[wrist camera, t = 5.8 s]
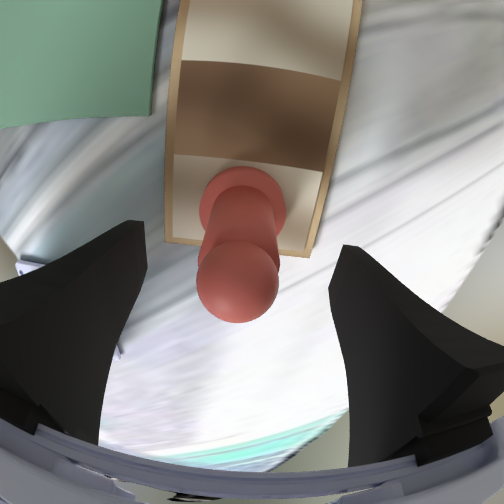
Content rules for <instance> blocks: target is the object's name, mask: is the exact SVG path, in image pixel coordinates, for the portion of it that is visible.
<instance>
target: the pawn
mask: <svg viewBox="0 0 504 504" xmlns="http://www.w3.org/2000/svg"><path fill="white" fill-rule="evenodd" d="M199 216H200V221H201V224H202V226H203V229H204V230H205V235H204V238H203V242H202V245H201V249H200V252H199V256H198V267H199V268H198V272H197V278H196V285H197V291H198V295H199V298H200V300H201V302H202V303H203V305H204V306H205V308H206V309H207V310H208V311H209V312H210V313H211V314H213V315H214V316H215V317H217V318H219V319H221V320H223V321H226V322H231V323H244V322H249V321H252V320H254V319H256V318H258V317H260V316H261V315H263V314H264V313H265V312H266V311H267V310H268V309H269V308H270V307H271V305H272V304H273V302H274V300H275V298H276V295H277V292H278V287H279V277H278V272H279V268H280V259H279V251H278V244H277V236H278V234H279V233H280V231H281V230H282V228H283V226H284V223H285V219H286V205H285V201H284V197H283V193H282V190H281V188H280V186H279V185H278V183H277V182H276V181H275V180H274V178H272V177H271V176H270V175H269V174H267V173H266V172H264V171H262V170H260V169H257V168H254V167H249V166H236V167H231V168H228V169H226V170H224V171H222V172H220V173H218V174H217V175H216V176H215V177H213V178H212V180H211V181H210V182H209V183H208V185H207V187H206V189H205V191H204V193H203V196H202V198H201V201H200V206H199Z"/></svg>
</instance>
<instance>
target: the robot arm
mask: <svg viewBox="0 0 504 504" xmlns="http://www.w3.org/2000/svg"><path fill="white" fill-rule="evenodd" d="M16 269H17V272H18V274H19V276H18V277H15V278H13V279H10V280H7V281H4V282H0V504H149V503H145V502H140V501H136V500H135V495H134V494H133V493H131V492H129V491H127V490H124V489H122V488H121V487H119V486H117V485H115V484H114V482H113V481H112V480H110V479H107V478H104V477H102V476H99V475H96V474H94V473H92V472H90V471H87V470H85V469H83V468H86V469H89V470H92V471H95V472H98V473H101V474H104V475H107V476H110V477H114V478H117V479H121V480H124V481H128V482H132V483H136V484H140V485H144V486H148V487H153V488H158V489H163V490H168V491H174V492H180V493H186V494H193V495H201V496H211V497H222V498H237V499H289V498H306V497H317V496H325V495H333V494H341V493H347V492H354V491H359V490H364V489H368V490H365V491H361V492H357V493H353V494H348V495H344V496H342V497H341V498H339V499H338V500H336V501H333V502H330V503H327V504H483V503H484V502H485V501H487V500H488V499H490V498H491V497H492V496H493V495H495V494H496V493H497V492H498V491H500V490H501V489H502V488H504V416H502V417H500V418H498V419H496V420H494V421H493V422H491V423H489V420H488V418H487V417H488V416H490V415H491V414H492V410H491V407H490V404H491V403H492V402H493V401H494V400H495V399H496V398H497V397H498V396H499V395H501V394H502V393H503V392H504V346H502V345H500V344H497V343H495V342H493V341H490V340H487V339H486V338H483V337H481V336H480V335H478V334H475V333H474V332H472V331H470V330H468V329H466V328H464V327H462V326H461V325H459V324H457V323H456V322H454V321H453V320H451V319H449V318H448V317H446V316H444V315H443V314H442V313H440V312H439V311H437V310H436V309H434V308H433V307H432V306H430V305H429V304H427V303H426V302H425V301H423V300H422V299H421V298H419V297H418V296H417V295H416V294H414V293H413V292H412V291H411V290H410V289H408V288H407V287H406V286H405V285H404V284H402V283H401V282H400V281H399V280H398V279H397V278H395V277H394V276H393V275H392V274H391V273H390V272H389V271H387V270H386V269H385V268H384V267H383V266H382V265H381V264H380V263H378V262H377V261H376V260H375V259H374V258H373V257H371V256H370V255H369V254H368V253H367V252H365V251H364V250H363V249H361V248H360V247H358V246H351V245H343V247H342V250H341V253H340V256H339V259H338V262H337V264H336V267H335V270H334V273H333V276H332V279H331V282H330V284H329V287H328V290H329V299H330V307H331V312H332V316H333V320H334V324H335V328H336V332H337V335H338V339H339V343H340V347H341V351H342V355H343V359H344V364H345V369H346V376H347V386H348V397H349V413H350V443H349V460H348V468H340V469H331V470H320V471H308V472H282V473H281V472H279V473H265V472H237V471H223V470H212V469H203V468H195V467H188V466H181V465H175V464H169V463H164V462H159V461H154V460H149V459H145V458H140V457H136V456H132V455H128V454H124V453H120V452H117V451H113V450H110V449H106V448H103V447H100V446H98V438H99V428H100V418H101V411H102V405H103V399H104V393H105V388H106V383H107V379H108V374H109V370H110V366H111V362H112V360H114V361H119V360H120V357H121V355H120V352H119V349H118V346H117V342H118V340H119V337H120V335H121V332H122V330H123V328H124V326H125V323H126V321H127V319H128V317H129V314H130V312H131V310H132V308H133V306H134V303H135V301H136V299H137V297H138V295H139V292H140V290H141V287H142V284H143V281H144V278H145V274H146V271H147V257H146V246H145V232H144V221H134V220H127V221H125V222H123V223H121V224H119V225H117V226H115V227H114V228H112V229H110V230H108V231H107V232H105V233H103V234H102V235H100V236H98V237H97V238H95V239H93V240H92V241H90V242H88V243H86V244H85V245H83V246H81V247H79V248H77V249H76V250H74V251H72V252H70V253H69V254H67V255H65V256H63V257H61V258H59V259H57V260H55V261H53V262H51V263H49V264H47V265H44V264H39V263H33V262H28V261H23V260H18V261H17V262H16ZM369 488H372V489H369Z"/></svg>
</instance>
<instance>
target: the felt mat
mask: <svg viewBox="0 0 504 504" xmlns="http://www.w3.org/2000/svg"><path fill="white" fill-rule="evenodd" d="M163 1H164V0H0V129H3V128H8V127H14V126H20V125H26V124H33V123H40V122H48V121H57V120H67V119H78V118H92V117H113V116H150V115H151V101H152V87H153V75H154V65H155V56H156V47H157V39H158V32H159V25H160V18H161V12H162V6H163Z"/></svg>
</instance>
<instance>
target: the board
mask: <svg viewBox="0 0 504 504" xmlns="http://www.w3.org/2000/svg"><path fill="white" fill-rule="evenodd" d="M362 1H363V0H180V5H179V11H178V17H177V24H176V31H175V38H174V45H173V53H172V62H171V71H170V82H169V93H168V106H167V121H166V140H165V173H164V222H165V242H168V243H177V244H186V245H195V246H201V245H202V242H203V238H204V235H205V230H204V229H203V226H202V224H201V221H200V216H199V206H200V201H201V198H202V196H203V193H204V191H205V189H206V187H207V185H208V183H209V182H210V181H211V180H212V178H213V177H215V176H216V175H217V174H218V173H220V172H222V171H224V170H226V169H228V168H231V167H236V166H249V167H254V168H257V169H260V170H262V171H264V172H266V173H267V174H269V175H270V176H271V177H272V178H274V180H275V181H276V182H277V183H278V185H279V186H280V188H281V190H282V193H283V197H284V201H285V205H286V219H285V223H284V226H283V228H282V230H281V231H280V233H279V234H278V236H277V244H278V251H279V255H285V256H294V257H303V258H310V255H311V251H312V247H313V244H314V240H315V236H316V233H317V229H318V225H319V221H320V217H321V214H322V210H323V206H324V202H325V198H326V194H327V190H328V185H329V181H330V177H331V173H332V169H333V164H334V160H335V155H336V151H337V146H338V142H339V137H340V132H341V128H342V123H343V118H344V113H345V108H346V103H347V97H348V92H349V87H350V81H351V76H352V70H353V64H354V58H355V52H356V45H357V39H358V32H359V25H360V17H361V9H362Z"/></svg>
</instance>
